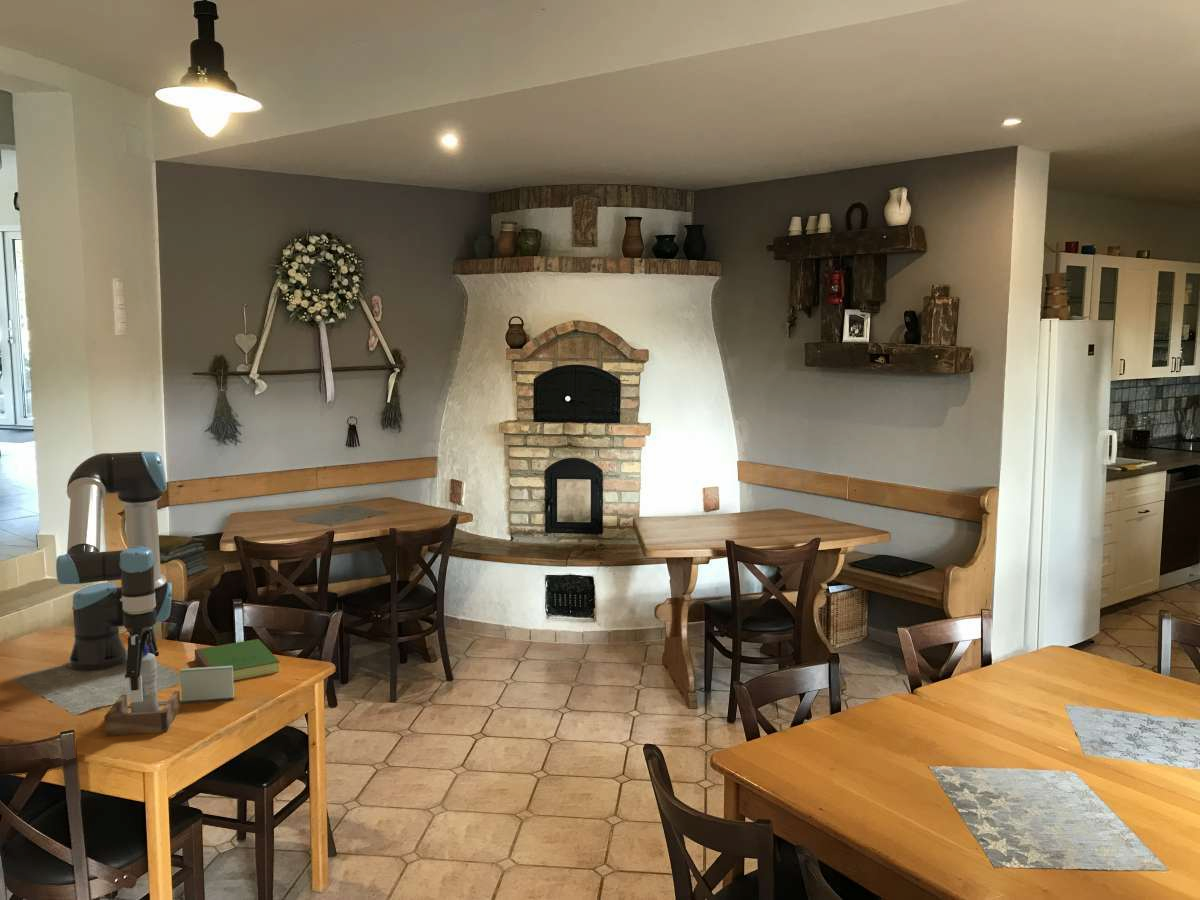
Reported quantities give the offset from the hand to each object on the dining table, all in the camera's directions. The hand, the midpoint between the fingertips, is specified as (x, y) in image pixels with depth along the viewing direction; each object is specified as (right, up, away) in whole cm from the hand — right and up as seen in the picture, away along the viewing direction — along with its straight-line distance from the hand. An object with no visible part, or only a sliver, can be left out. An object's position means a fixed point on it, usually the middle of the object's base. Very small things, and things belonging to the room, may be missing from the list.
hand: (143, 691), depth 239 cm
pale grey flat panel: (+11, -6, +14) cm, 18 cm away
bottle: (0, -8, +1) cm, 8 cm away
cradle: (+6, -7, +4) cm, 10 cm away
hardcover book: (+8, -4, +40) cm, 41 cm away
